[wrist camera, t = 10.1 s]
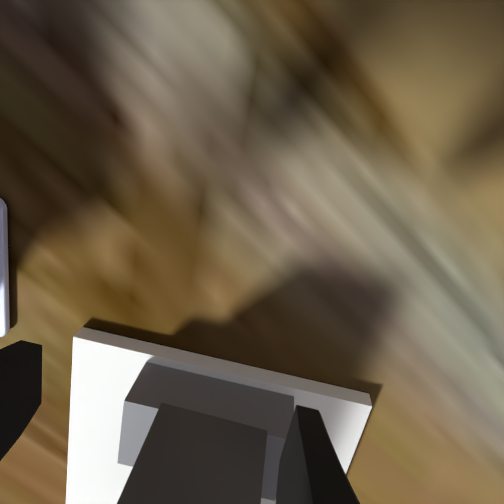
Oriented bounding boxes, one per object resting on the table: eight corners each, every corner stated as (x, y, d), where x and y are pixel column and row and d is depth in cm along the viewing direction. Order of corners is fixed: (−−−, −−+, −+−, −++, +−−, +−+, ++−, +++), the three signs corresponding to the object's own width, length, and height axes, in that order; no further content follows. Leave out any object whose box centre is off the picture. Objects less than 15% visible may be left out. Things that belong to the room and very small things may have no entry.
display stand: (72, 512, 29) (38, 575, 25) (82, 326, 23) (40, 372, 19) (302, 568, 28) (302, 641, 24) (369, 393, 23) (382, 453, 19)
